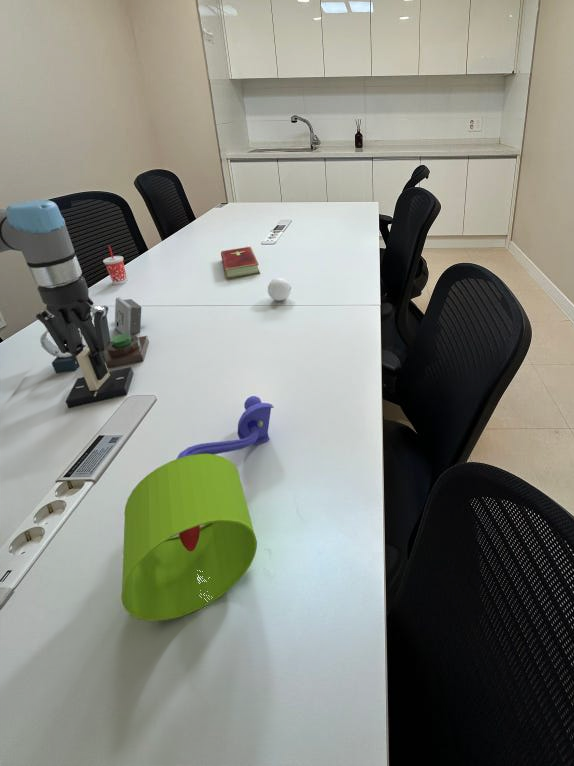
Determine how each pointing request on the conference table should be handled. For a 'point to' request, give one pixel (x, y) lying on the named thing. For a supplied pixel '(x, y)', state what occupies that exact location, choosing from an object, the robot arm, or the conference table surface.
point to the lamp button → (121, 340)
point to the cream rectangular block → (90, 370)
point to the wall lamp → (190, 527)
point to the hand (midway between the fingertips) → (97, 376)
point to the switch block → (127, 352)
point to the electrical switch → (127, 316)
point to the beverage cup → (116, 268)
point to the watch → (59, 356)
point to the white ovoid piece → (279, 289)
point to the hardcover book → (239, 262)
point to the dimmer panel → (101, 388)
